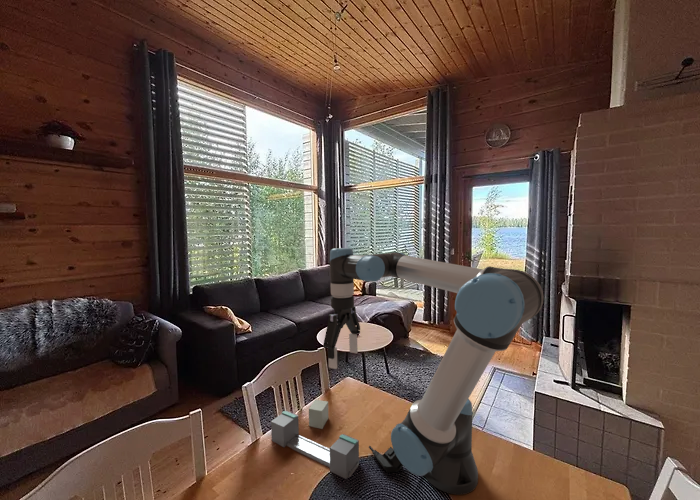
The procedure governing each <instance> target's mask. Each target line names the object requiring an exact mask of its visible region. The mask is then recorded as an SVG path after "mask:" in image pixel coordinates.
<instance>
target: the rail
mask: <svg viewBox="0 0 700 500" xmlns="http://www.w3.org/2000/svg"><path fill="white" fill-rule="evenodd" d="M285 447H289V448H290V449H292V450H293V451H295V452H297V453H299V454H301V455H304V456H305V457H307V458H310V459H311V460H313V461H315V462H318V463H319V464H321V465H323V466H325V467H328V468H329V469H330V447H327V446H324V445H322V444H320V443H318V442H316V441H313V440H311V439H309V438H307V437H305V436H302V435H300V434H296V435H295V436H294V437H293V438H292V439H291V440H289V441H287V442H286V446H285ZM359 463H360V461H359V462H358V461H357V462H356V464H355V465H354V467H353V468H352V469H351V470H350V471H349V472H348V478H351V476H352V475H353V474H354V473H355V471H356V470H357V469H358V468H359Z"/></svg>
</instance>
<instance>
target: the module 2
mask: <svg viewBox="0 0 700 500" xmlns="http://www.w3.org/2000/svg"><path fill="white" fill-rule="evenodd" d="M328 420H329V401H327V400H320V399H315V400H314V401H313V402H312V403H311V405H310V407H308V426H309V427H311V428H316V429H321V430H323V429H324V427H325V425H326V424H327V421H328Z"/></svg>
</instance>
